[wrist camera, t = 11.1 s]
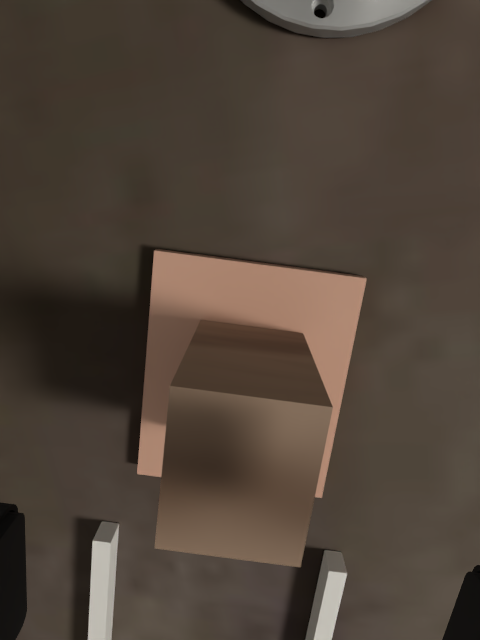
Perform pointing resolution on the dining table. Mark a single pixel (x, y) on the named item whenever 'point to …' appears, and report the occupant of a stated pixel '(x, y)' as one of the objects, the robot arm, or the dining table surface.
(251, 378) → the walnut block
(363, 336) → the dining table surface
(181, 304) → the terracotta tile
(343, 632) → the dining table surface
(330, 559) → the shelf bay
